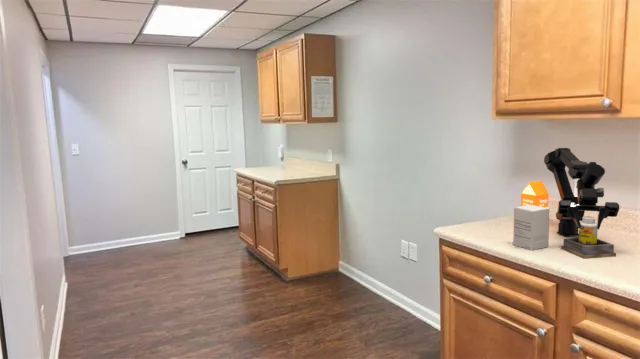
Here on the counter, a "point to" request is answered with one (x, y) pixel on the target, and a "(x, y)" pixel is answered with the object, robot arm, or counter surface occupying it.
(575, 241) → the tray
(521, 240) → the supplement box
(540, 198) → the orange juice
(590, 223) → the supplement bottle
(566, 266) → the counter surface
